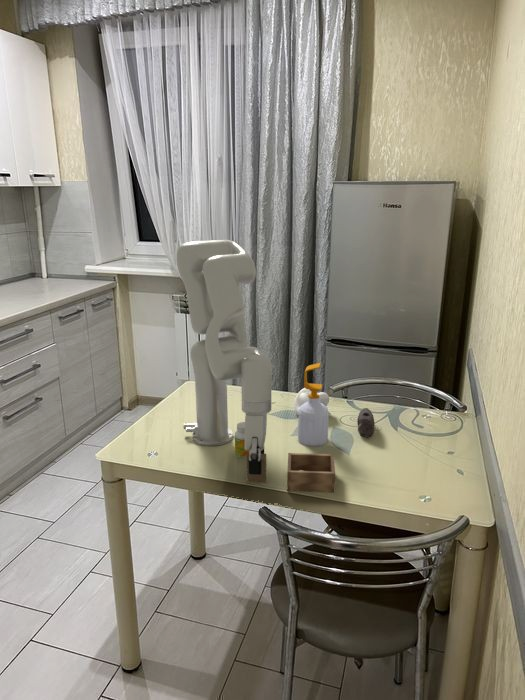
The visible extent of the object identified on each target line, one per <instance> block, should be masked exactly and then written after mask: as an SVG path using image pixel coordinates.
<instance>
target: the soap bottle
mask: <svg viewBox="0 0 525 700" xmlns="http://www.w3.org/2000/svg"><path fill="white" fill-rule="evenodd" d="M320 368H321V362H318V363H313V364H310V365H308V366H306V368H305V370H304V374H303V375H304V376H303V388H305V389H309V390H310V391H311V394H309V395H308V402H306V403H304V404H303V405H301V406H300V408H299V416H298V415H297V417H298V420H297V421H298V423H297V424H298V425H297V426H298V430H297V431H298V432H297V436H298V437H297V439H298V442H299V443H301V444H302V445H304V446H308V447H319V446H324V445H325V444H327V442H328V441H329V416H330V415H329V414H330V413H329V412H330V411H329V409H328V407H327V406H325V405H324V404H323V403H320V402H319V394H317V393H318V392H319V391H321V390H322V389H323V388H322V387H323V384H321V383H309V382H308V372H310V371H313V370H318V369H320Z"/></svg>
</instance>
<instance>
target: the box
mask: <svg viewBox="0 0 525 700" xmlns="http://www.w3.org/2000/svg"><path fill="white" fill-rule="evenodd" d="M334 456H335V455H334V454H330V453H304V452H303V453H301V452H300V453H299V452H288V454H287V470H286V472H287V473H286V474H287V476H286V477H287V478H286V482H287V484H286V491H287V492H300V493H301V492H303V493H304V492H305V493H306V492H307V493H326V494H327V493H332V494H334V493H335V492H336V491H335V490H336V466H335V458H334ZM299 470H303V471H299Z"/></svg>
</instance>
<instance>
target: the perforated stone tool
mask: <svg viewBox="0 0 525 700" xmlns="http://www.w3.org/2000/svg"><path fill="white" fill-rule="evenodd" d="M357 432H358V434H359V435H360V437H363V438H368V439H369V438H372V437H373V436H374V433H375V419H374V415H373V413H372V410H370V409H369V408H367V407H364V408H362V409H361V410H360V411H359V413H358V415H357Z"/></svg>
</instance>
